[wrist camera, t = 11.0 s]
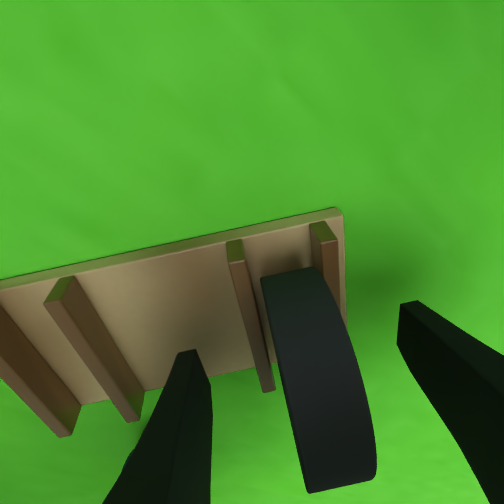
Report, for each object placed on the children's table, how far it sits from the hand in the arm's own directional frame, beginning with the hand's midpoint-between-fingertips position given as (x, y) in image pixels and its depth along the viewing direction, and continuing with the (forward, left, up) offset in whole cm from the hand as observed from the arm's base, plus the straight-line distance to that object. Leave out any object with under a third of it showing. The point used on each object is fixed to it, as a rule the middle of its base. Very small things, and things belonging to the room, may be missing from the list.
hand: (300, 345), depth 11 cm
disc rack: (-2, +4, -3) cm, 5 cm away
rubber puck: (0, 0, -2) cm, 2 cm away
